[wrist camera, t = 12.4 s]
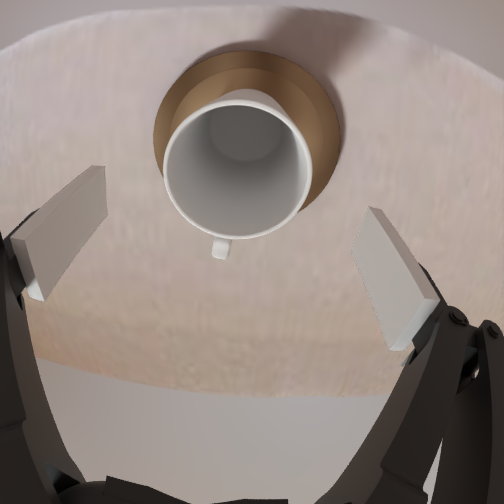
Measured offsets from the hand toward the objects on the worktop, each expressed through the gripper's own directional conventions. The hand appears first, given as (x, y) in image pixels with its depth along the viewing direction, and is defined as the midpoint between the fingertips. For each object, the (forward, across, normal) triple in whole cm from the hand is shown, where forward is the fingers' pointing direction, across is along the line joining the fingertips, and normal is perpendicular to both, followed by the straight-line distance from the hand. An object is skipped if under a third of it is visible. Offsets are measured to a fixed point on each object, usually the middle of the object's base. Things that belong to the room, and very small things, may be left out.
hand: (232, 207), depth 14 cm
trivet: (+13, 0, 0) cm, 13 cm away
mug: (+12, 0, 0) cm, 12 cm away
